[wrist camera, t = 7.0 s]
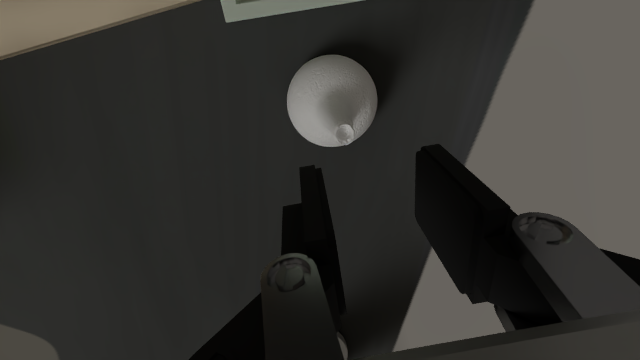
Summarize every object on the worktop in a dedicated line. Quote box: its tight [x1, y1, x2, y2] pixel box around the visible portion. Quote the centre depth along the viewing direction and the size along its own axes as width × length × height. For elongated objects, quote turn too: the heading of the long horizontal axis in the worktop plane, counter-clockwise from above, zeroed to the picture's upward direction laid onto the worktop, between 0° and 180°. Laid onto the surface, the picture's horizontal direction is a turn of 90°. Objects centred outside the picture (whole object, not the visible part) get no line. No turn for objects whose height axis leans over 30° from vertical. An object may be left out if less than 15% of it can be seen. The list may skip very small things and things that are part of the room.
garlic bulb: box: [287, 55, 377, 147], centre depth 19 cm, size 6×6×8 cm
